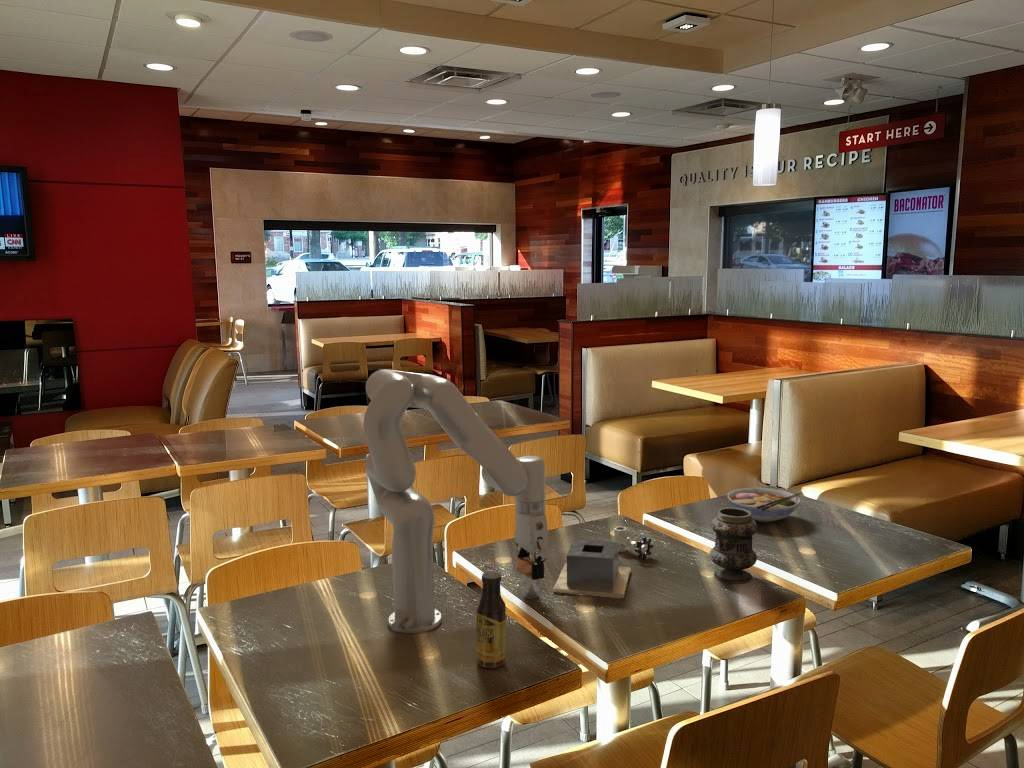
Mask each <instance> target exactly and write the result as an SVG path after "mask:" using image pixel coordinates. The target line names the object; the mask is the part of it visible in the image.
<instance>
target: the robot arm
mask: <svg viewBox="0 0 1024 768" xmlns="http://www.w3.org/2000/svg"><path fill="white" fill-rule="evenodd" d="M365 390H366V391H365V392H366V394H367V397H368V398H369V400H370V401H369V403H368V405H367V408H366V410H365V414H364V417H363V423H362V424H363V425H362V426H363V433H364V438H365V441H366V444H367V448H368V451H369V453H368V454H367V456H366V461H365V471H366V474H367V477H368V481H369V483H370V486H371V490H372V492H373V495H374V497H375V500H376V502H377V503H376V504H377V505H378V508H379V510H380V512H381V514H382V515H383V517H385V520H387V521H389V523H390V524H391V525H392V527H393V528H392V529H393V532H392V533H393V534H392V541H391V563H392V583H393V585H392V587H393V589H392V590H393V606H394V608H393V612H392V613H391V614H390V615H389V616H388V620H387V621H388V622H387V623H388V626H389V628H390V629H391V630H392V631H393V632H397V633H398V632H399V633H402V634H420V633H424V632H427V631H431V630H434V629H435V628H437V627H438V626H440V624H441V623H442V621H443V620H442V618H443V617H442V613H441V612H440V611H439V610H438V609H437V608H435V605H436V604H435V579H434V578H435V577H434V573H435V571H434V557H433V555H434V553H433V552H434V551H433V550H434V549H433V545H434V544H433V543H434V541H433V539H434V538H433V536H434V529H435V511H434V508H433V506H432V504H431V503H430V501H429V500H428V499H427V498H426V497H425V495H422V494H421V492H418V491H417V490H415V488H414V483H415V480H416V478H417V469H416V465H415V462H414V459H413V458H412V455H411V451H410V449H409V446H408V443H407V440H406V438H405V433H404V430H403V423H402V422H403V417H404V415H405V413H406V411H407V410H408V408H413V409H414V408H415V409H416V408H417V409H423V410H426V411H428V412H429V414H430V415H431V416H432V417H433V419H435V421H436V422H437V423H438V424H439V425H440V427H441V428H442V429H443V430H444V432H445V433H446V434H447V436H448V437H449V438H450V440H452V442H453V443H454V444H455V445H456V446H457V447H458V448H459V449H460V451H462V452H463V453H465V454H466V455H467V456H469V457H470V458H472V460H474V461H475V462H477V463H478V464H479V465H480V466H481V467H482V469H481V476H482V479H483V481H484V482H485V483H486V484H487V485H488V486H490V487H491V488H493V489H495V490H497V491H498V492H500V493H501V494H503V495H505V496H508V497H514V506H515V508H514V510H515V525H514V526H515V527H514V530H515V531H514V532H515V533H514V539H515V545H516V548H517V549H516V553H517V559H518V558H519V557H522V556H527V555H532V560H533V564H532V579H533V580H537V579H539V580H541V579H544V578H545V570H544V563H545V564H546V559H547V557H548V555H549V552H548V551H549V546H550V545H549V531H548V522H547V521H548V520H547V516H546V464H545V463H546V462H545V460H544V458H543V457H540V456H537V455H524V456H519V457H516V456H515V455H514V454H513V452H512V451H511V450H510V449H509V448H508V447H507V445H505V444H504V443H503V441H502V440H501V439H500V438H499V437H498V436H497V435H496V434H495V433H494V432H493V431H492V429H491V428H490V427H489V426H488V425H487V424H486V423H485V422H484V421H483V420H482V418H481V417H480V415H478V413H477V412H476V411H475V410H474V408H473V407H472V405H471V404H470V403H469V402H468V400H467V399H466V398H465V397H464V395H463V394H462V393H461V391H460V390H459V389H458V387H457V386H456V385H455V383H453V382H451V380H449V379H447V378H444V377H442V376H437V375H435V374H430V373H429V374H428V373H427V374H426V373H418V372H409V371H403V370H402V371H401V370H396V369H395V370H394V369H386V368H385V369H379V370H376V371H374V372H373V373H371V374H370V376H369V377H368V378H367V380H366V383H365ZM536 550H537V551H536ZM536 556H538V558H537V559H536Z"/></svg>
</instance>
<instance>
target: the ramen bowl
mask: <svg viewBox="0 0 1024 768" xmlns="http://www.w3.org/2000/svg"><path fill="white" fill-rule="evenodd" d="M800 495H803V492H798V493H796V494H794V493H791V492H788V491H784V490H782V489H781V490H780V489H775V488H768V487H767V488H766V487H747V488H746V487H745V488H738V489H734V490H732V491H730V492H728V493H727V499H728V501H729V503H730V504H731V506H732V508H740V509H745V510H747V511H749V512H750V513H751V517H752V520H754V521H755V522H758V523H773V522H775V521H779V520H782V519H785V518H787V517H789V516H790V515H791V514H792V513H794V511H795V510H796V509H797V508H798V507H799V505H800V504H801V498H800V497H799V496H800Z"/></svg>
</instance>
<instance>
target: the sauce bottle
mask: <svg viewBox="0 0 1024 768" xmlns="http://www.w3.org/2000/svg"><path fill="white" fill-rule="evenodd" d="M501 581H502V574H501V573H500V572H498V571H494V570H492V571H490V570H489V571H485V572H483V573H482V575H481V582H482V592H481V593H482V594H481V595H480V599H479V603H478V606H477V609H476V616H475V617H476V618H475V619H476V623H475V624H476V626H475V629H476V631H475V635H476V637H475V638H476V640H475V641H476V643H475V644H476V645H475V646H476V647H475V648H476V649H475V655H476V663H477V664H478V665H479V666H480V667H482V668H484V669H485V668H486V669H491V670H492V669H496V668H500V667H501V666H503V664H505V661H506V651H507V650H506V647H507V646H506V645H507V642H506V640H507V636H506V635H507V633H506V632H507V631H506V630H507V616H506V615H507V614H506V610H507V609H506V602H505V601H504V599H503V597H502V595H501V593H502V592H501Z"/></svg>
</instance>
